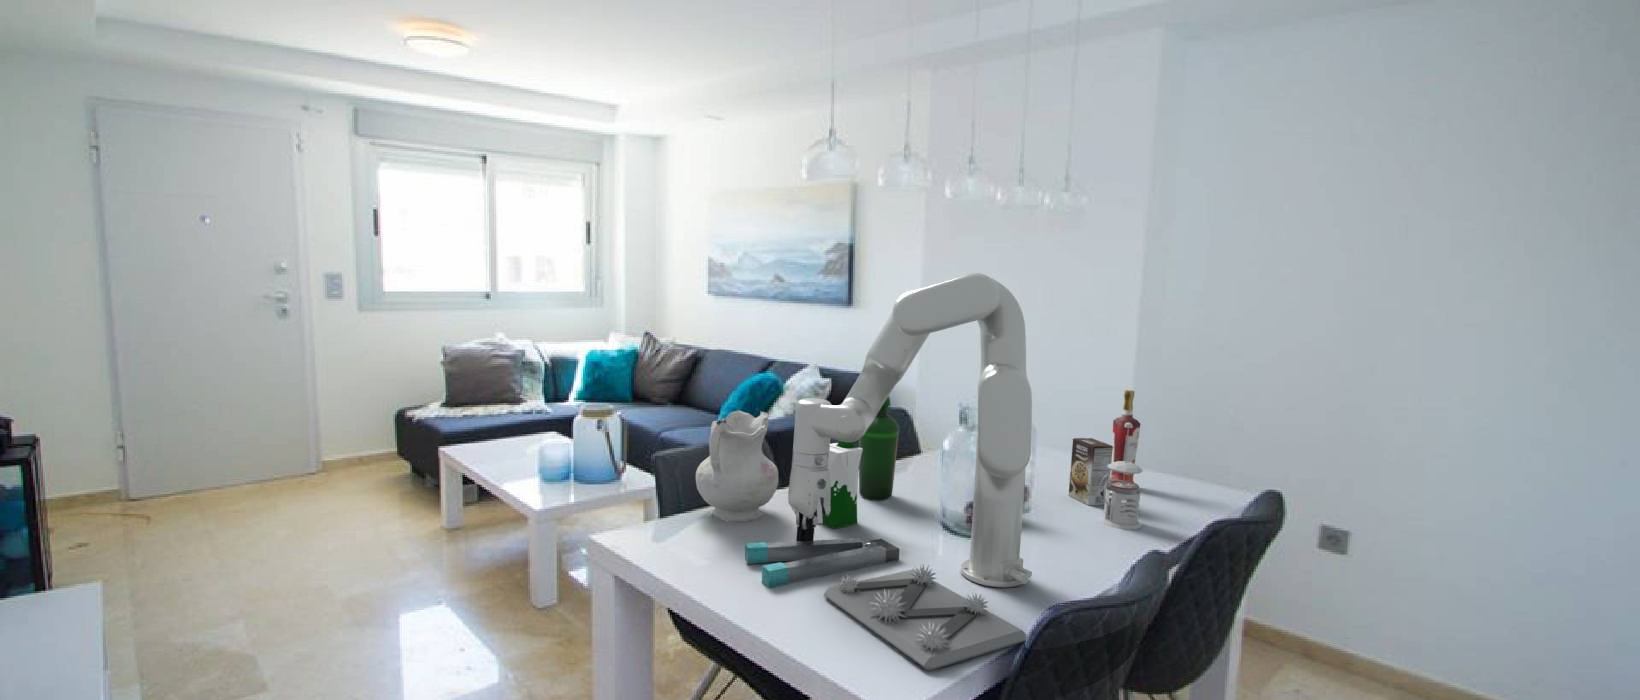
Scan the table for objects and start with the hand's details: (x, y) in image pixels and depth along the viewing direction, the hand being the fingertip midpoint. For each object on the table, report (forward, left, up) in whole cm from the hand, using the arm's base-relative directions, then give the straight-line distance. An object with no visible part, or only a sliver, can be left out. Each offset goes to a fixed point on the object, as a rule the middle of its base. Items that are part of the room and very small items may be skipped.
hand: (804, 544), depth 158 cm
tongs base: (-9, -1, -2) cm, 9 cm away
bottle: (+27, -38, -2) cm, 46 cm away
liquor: (+5, -110, -2) cm, 110 cm away
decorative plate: (-35, -2, -3) cm, 35 cm away
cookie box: (0, -89, -2) cm, 89 cm away
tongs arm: (-4, +1, -1) cm, 4 cm away
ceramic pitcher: (+28, +3, -2) cm, 28 cm away
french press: (-17, -80, -2) cm, 82 cm away
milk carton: (+14, -17, -2) cm, 22 cm away
